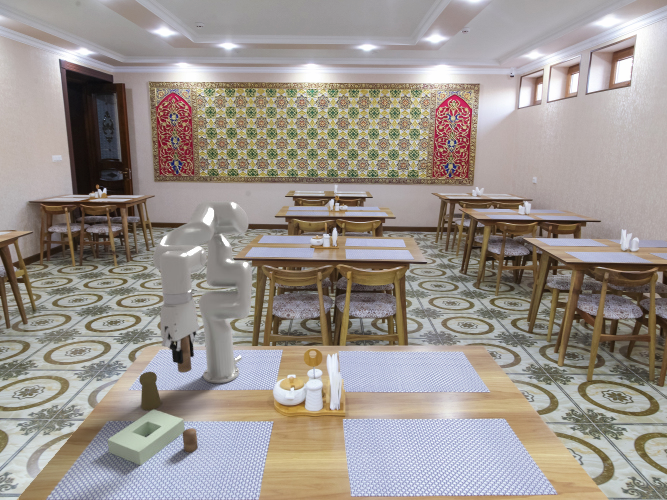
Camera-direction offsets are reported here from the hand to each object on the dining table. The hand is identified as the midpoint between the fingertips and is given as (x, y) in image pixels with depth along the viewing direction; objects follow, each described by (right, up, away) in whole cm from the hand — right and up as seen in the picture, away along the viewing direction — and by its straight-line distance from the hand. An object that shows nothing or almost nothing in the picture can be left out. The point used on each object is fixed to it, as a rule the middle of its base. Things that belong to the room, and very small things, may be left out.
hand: (183, 358), depth 129 cm
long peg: (0, -3, +1) cm, 3 cm away
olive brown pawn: (-17, -20, +20) cm, 33 cm away
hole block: (-11, -24, +2) cm, 26 cm away
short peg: (+2, -24, -1) cm, 25 cm away
